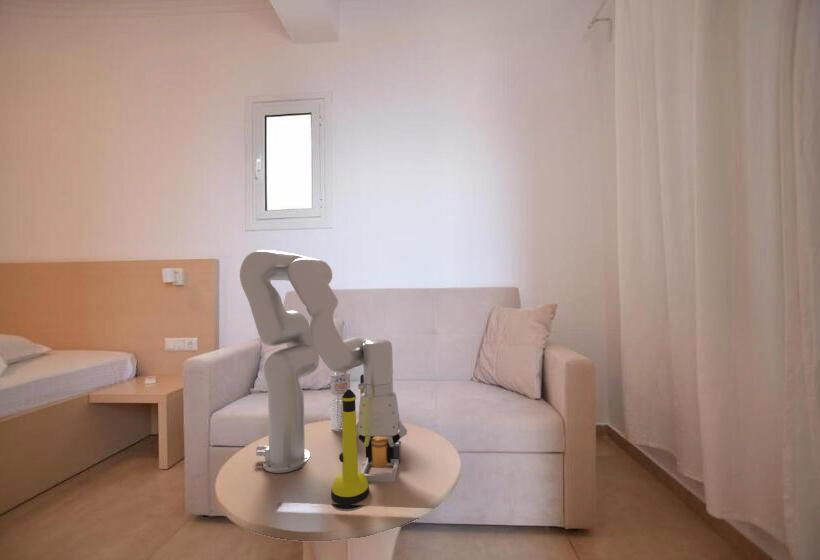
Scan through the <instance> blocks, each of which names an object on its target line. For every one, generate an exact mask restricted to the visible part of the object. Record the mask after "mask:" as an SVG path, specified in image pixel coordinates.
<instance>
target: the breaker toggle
mask: <svg viewBox="0 0 820 560" xmlns="http://www.w3.org/2000/svg"><path fill="white" fill-rule="evenodd" d="M392 459H399V464H400V463H401V459H402V441H401V440H398V441H397V442H396V443H395V444H394V458H392Z"/></svg>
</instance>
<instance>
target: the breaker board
mask: <svg viewBox="0 0 820 560" xmlns="http://www.w3.org/2000/svg"><path fill="white" fill-rule="evenodd" d="M399 464H400V463H399V459H391V463H389V464H388V465H387V466H386V467H393V468H392V471H391V474H387V473H386V474H385V473H367V472H368V469H369V466H373V465H372V461H371V462H370V463H368V457H366V459H365V461H362V465H363V467H362V468H361V471H360V472H361V473H363V474H364V475H365V477H366V479H367V481H368V482H381V483H382V482H383V483H384V482H385V483H395V480H396V476H397V474H398V473H397V472H398V468H399Z"/></svg>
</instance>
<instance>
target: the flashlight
mask: <svg viewBox="0 0 820 560" xmlns="http://www.w3.org/2000/svg"><path fill="white" fill-rule="evenodd" d="M356 400H357V396H356V394H355V392H353V391H352V389H350V390H347V391H346V392H345V393H344V395H343V396H342V401H343V431H342V451H341V453H339V455H338V460H339V461H340V462H341V463H342V467H341V468H342V473H340V474H338V475H337V476H336V477H335V479H334V481H333V484H332V486H331V494H330V497H331V500H332V501H333V503H330V504H331V507H333V508H334V509H335V510H337V511H340V512H353V511H357V510H360V509H362V508H364V506H365V507H366V504H365V505H363V504H359V503H360V502H363V501H365V500H366V499H367V498H368V497H369V495H370V483H369V481H367V479H366V477H365V475H364V474H363V473H361V471H359V469H358V466H359V465H358V442H357V441H358V440H357V438H358V437H357V435H356V425H357V415H356V413H357V412H356V411H357V410H356Z"/></svg>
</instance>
